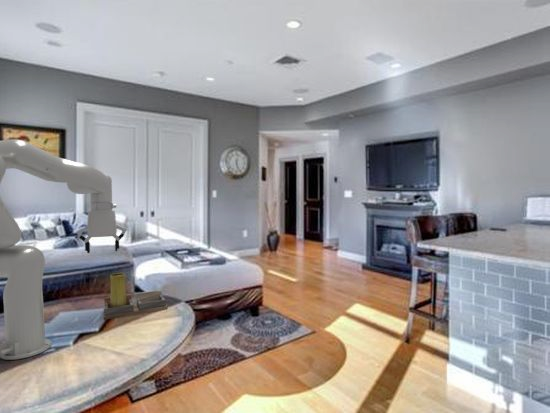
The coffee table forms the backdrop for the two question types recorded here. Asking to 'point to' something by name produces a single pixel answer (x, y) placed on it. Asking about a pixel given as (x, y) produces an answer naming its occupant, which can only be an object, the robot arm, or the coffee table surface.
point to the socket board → (136, 305)
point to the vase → (118, 290)
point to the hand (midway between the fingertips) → (102, 251)
